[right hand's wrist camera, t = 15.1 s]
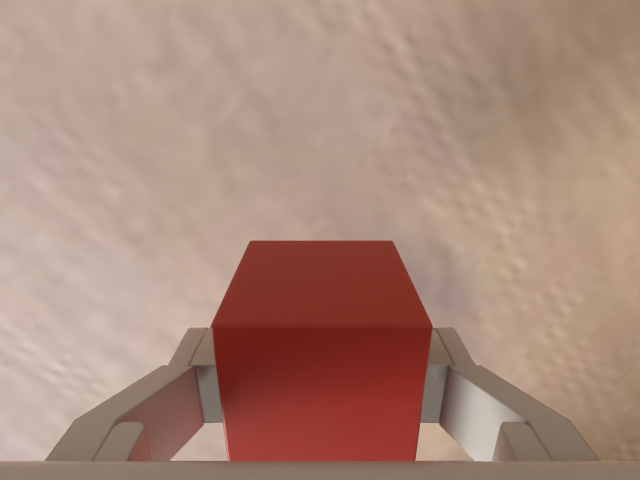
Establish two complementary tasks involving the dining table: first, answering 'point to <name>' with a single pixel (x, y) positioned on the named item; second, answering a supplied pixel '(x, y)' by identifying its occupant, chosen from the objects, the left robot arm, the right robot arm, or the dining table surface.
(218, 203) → the dining table surface
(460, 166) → the dining table surface
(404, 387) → the brick
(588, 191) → the dining table surface
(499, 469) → the right robot arm
